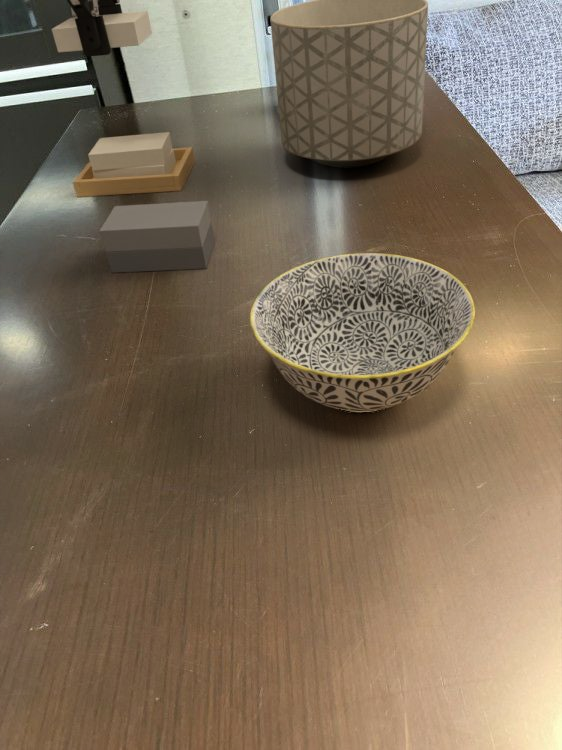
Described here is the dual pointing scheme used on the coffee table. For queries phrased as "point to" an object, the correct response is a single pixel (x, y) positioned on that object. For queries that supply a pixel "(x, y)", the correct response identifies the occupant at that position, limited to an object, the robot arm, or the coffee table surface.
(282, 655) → the coffee table surface
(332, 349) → the bowl
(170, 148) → the taupe rectangular block
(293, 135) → the planter
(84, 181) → the shallow wooden box
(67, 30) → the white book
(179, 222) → the grey rectangular block
